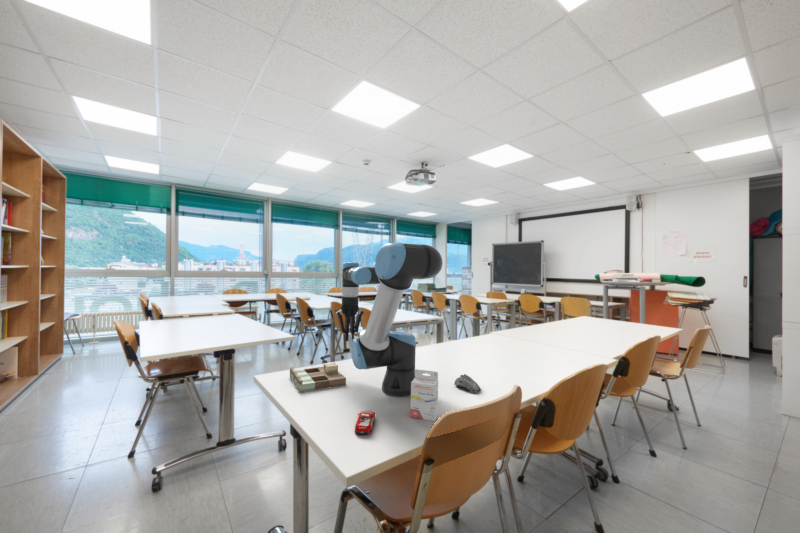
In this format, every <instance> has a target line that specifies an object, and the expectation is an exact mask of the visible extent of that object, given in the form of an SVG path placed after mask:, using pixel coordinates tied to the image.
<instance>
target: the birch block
mask: <svg viewBox="0 0 800 533" xmlns="http://www.w3.org/2000/svg"><path fill="white" fill-rule="evenodd" d="M323 367H324V370H323V372H324V373H325V374H326V375H329V374H336V373H338V372H339V364H337V363H336V362H327V363H323Z"/></svg>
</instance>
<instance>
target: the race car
mask: <svg viewBox="0 0 800 533" xmlns="http://www.w3.org/2000/svg"><path fill="white" fill-rule="evenodd" d="M357 416H358V417H357V420H356V422H355V425H354V433H355V435H356V434H357V435H370V434H371V433H372V432H373V428H374V425H375V422H376V421H375V420H376V413H375V411H372V410H362V411H361V412H359V413H357Z"/></svg>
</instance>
